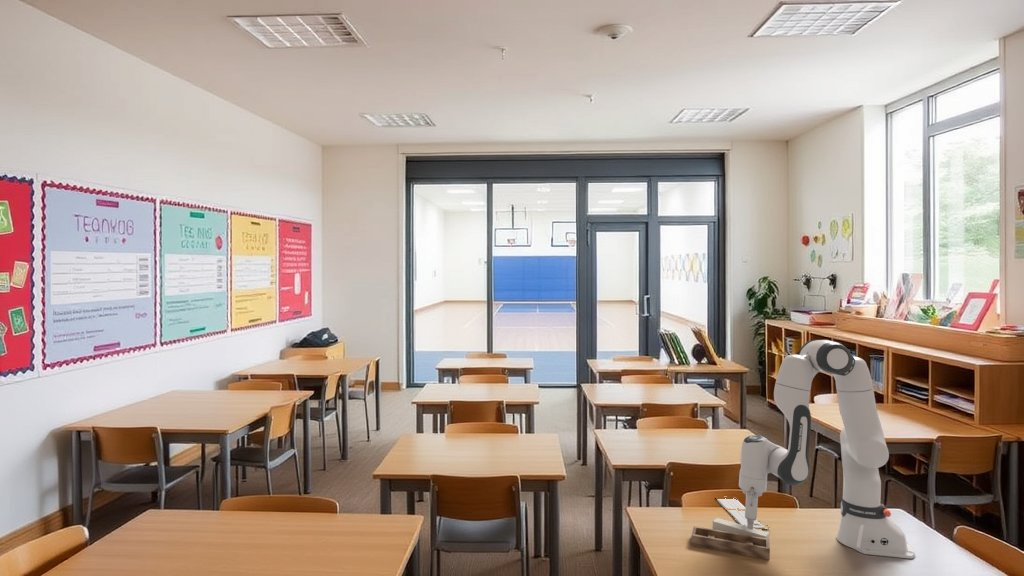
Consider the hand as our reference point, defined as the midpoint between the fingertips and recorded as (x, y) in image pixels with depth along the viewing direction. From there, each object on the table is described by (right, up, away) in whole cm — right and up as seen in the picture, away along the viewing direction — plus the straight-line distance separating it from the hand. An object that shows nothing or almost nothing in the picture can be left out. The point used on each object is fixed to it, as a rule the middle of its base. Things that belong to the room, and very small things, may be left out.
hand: (750, 523), depth 203 cm
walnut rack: (-10, -5, -7) cm, 13 cm away
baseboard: (+6, -6, +23) cm, 24 cm away
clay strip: (-3, -6, +1) cm, 7 cm away
